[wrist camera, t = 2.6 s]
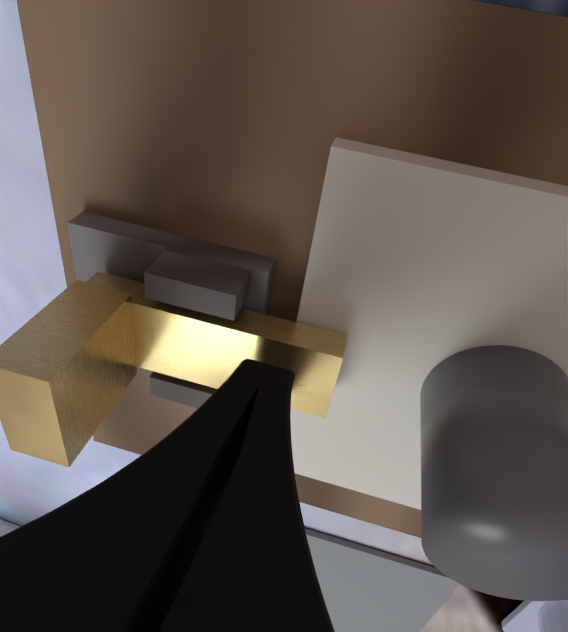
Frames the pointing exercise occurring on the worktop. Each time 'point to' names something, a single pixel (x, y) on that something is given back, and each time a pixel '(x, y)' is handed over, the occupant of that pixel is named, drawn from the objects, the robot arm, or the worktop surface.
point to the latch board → (265, 147)
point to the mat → (375, 587)
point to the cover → (447, 359)
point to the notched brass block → (139, 360)
